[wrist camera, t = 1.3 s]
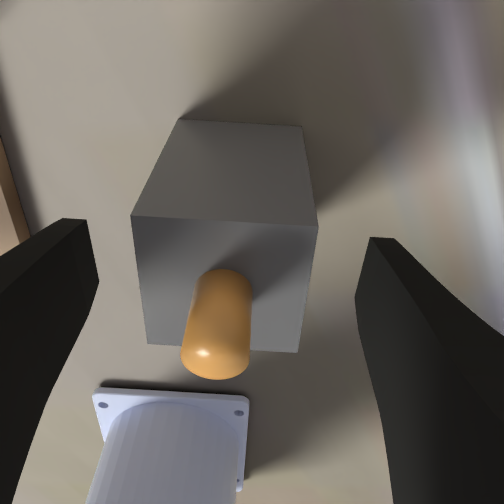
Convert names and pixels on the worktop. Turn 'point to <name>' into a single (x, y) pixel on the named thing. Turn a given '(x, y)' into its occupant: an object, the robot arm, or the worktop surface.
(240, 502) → the worktop surface
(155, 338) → the connector plug
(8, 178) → the board
